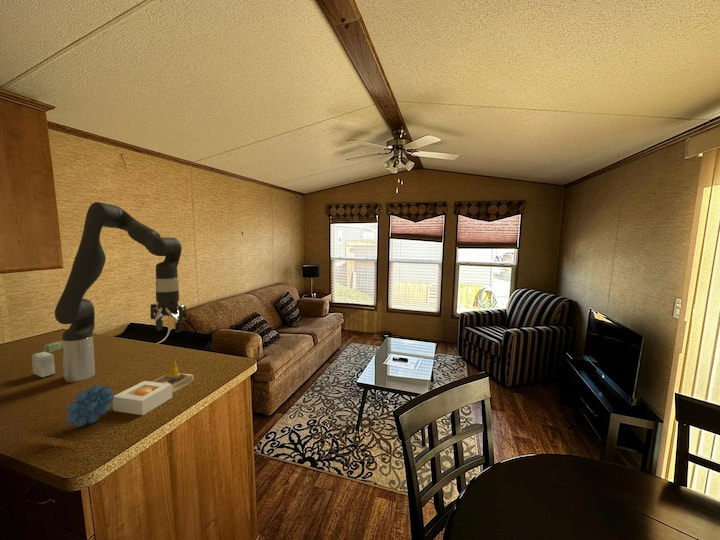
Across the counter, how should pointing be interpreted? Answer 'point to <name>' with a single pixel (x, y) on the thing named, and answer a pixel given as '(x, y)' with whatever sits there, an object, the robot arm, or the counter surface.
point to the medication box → (53, 346)
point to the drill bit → (172, 373)
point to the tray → (177, 381)
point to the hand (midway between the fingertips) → (169, 330)
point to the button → (143, 391)
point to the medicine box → (43, 364)
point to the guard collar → (142, 398)
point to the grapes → (89, 405)
